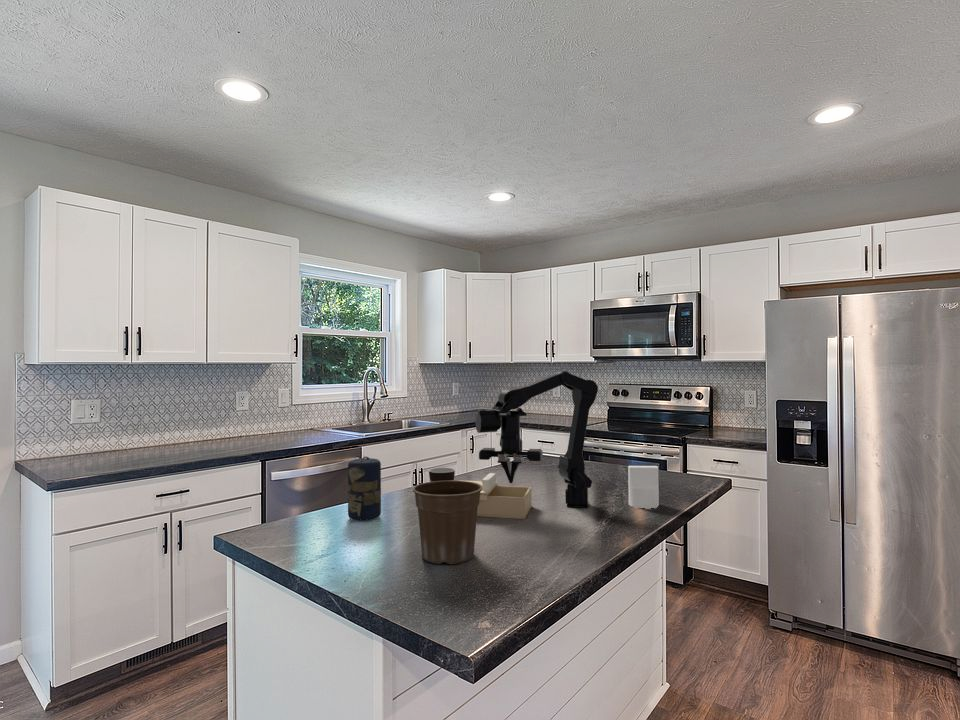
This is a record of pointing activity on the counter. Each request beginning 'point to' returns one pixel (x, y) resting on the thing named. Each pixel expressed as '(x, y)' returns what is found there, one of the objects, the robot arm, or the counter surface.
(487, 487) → the lid
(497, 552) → the counter surface
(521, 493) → the mailer box
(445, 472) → the coffee mug
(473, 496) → the plant pot
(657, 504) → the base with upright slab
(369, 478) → the canister
